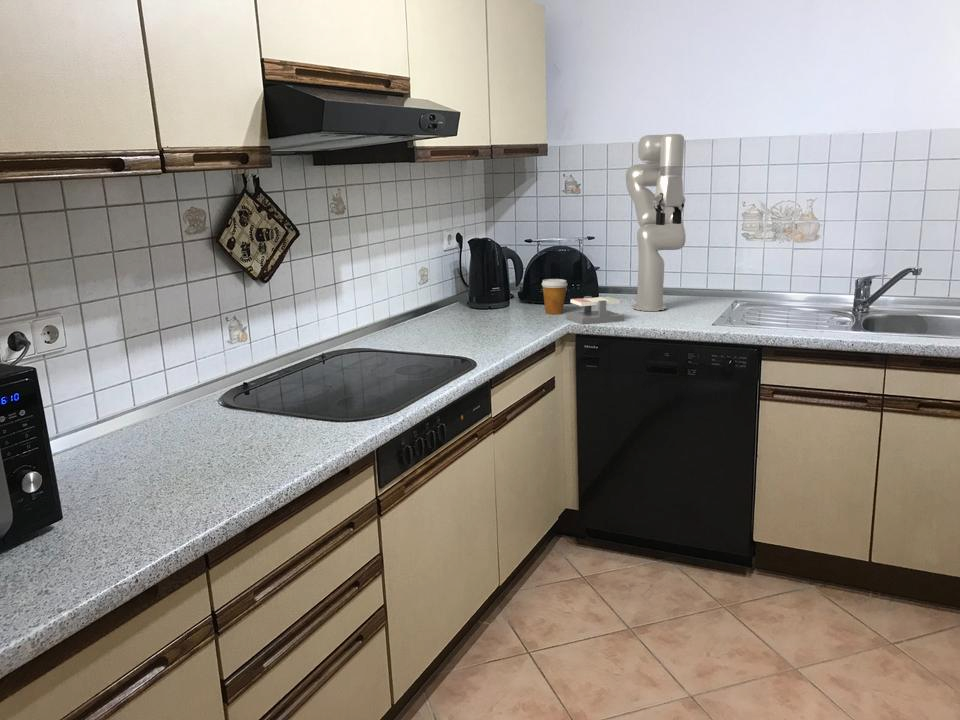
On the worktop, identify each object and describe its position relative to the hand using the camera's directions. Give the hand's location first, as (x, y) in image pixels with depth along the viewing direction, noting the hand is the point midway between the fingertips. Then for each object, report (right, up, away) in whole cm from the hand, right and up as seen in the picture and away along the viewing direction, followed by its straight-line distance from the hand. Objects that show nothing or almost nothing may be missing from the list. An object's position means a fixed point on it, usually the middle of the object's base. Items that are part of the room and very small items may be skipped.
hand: (668, 224), depth 265 cm
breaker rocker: (-24, -26, +7) cm, 36 cm away
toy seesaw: (-24, -32, +9) cm, 41 cm away
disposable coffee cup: (-37, -29, +23) cm, 52 cm away
